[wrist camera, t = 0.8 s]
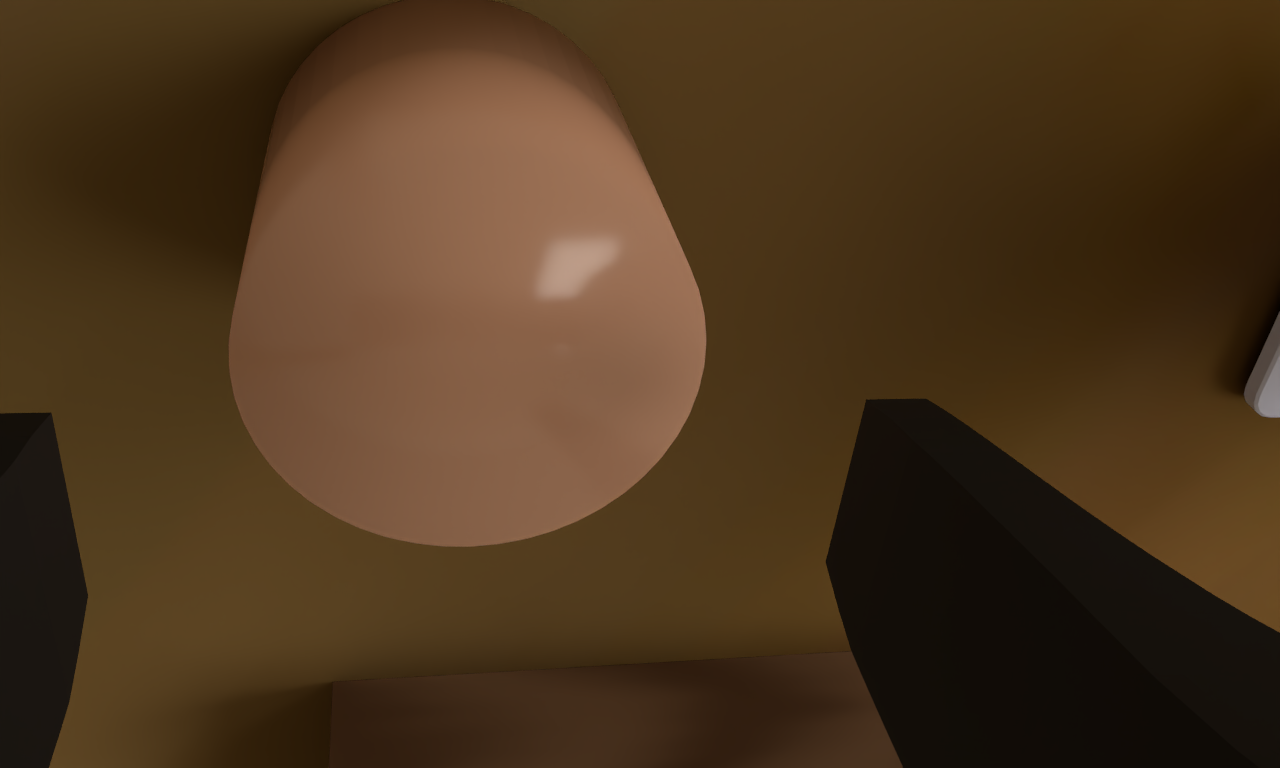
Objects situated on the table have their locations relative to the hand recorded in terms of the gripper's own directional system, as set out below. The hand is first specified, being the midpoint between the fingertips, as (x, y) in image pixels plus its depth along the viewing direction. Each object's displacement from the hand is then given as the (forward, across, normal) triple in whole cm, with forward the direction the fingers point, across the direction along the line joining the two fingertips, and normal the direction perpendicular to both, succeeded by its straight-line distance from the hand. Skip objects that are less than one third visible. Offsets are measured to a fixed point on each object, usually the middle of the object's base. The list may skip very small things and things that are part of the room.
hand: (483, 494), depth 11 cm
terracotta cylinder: (+7, 0, 0) cm, 7 cm away
